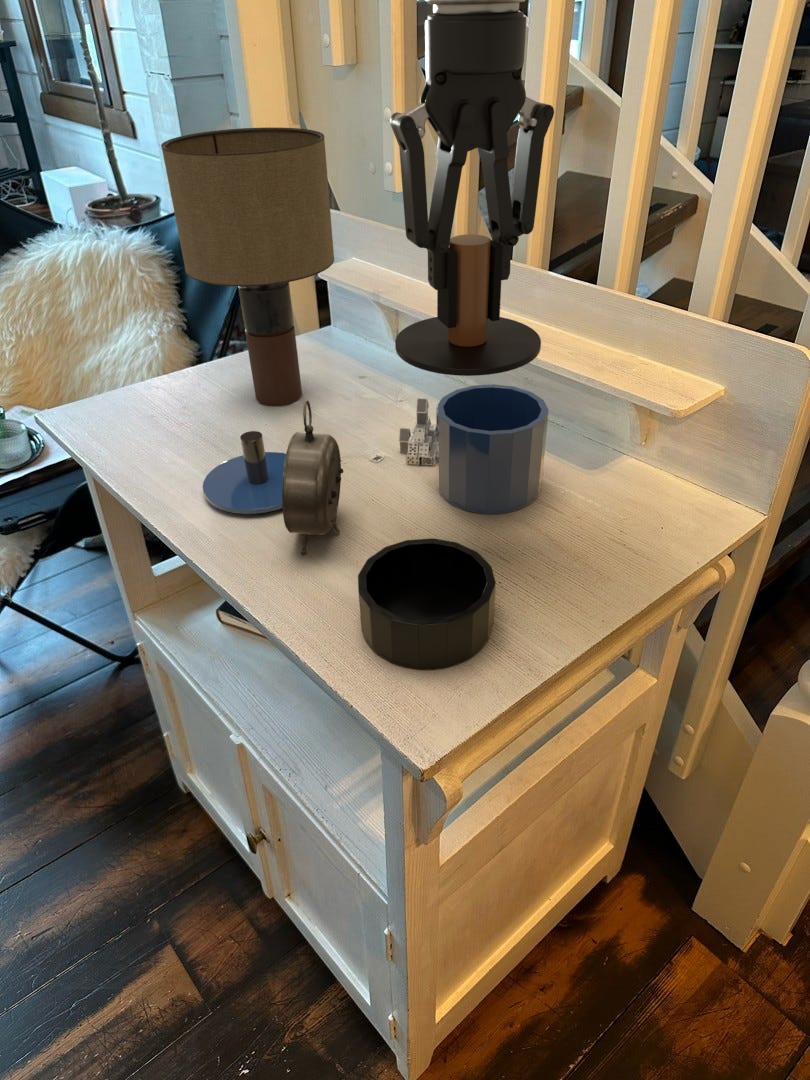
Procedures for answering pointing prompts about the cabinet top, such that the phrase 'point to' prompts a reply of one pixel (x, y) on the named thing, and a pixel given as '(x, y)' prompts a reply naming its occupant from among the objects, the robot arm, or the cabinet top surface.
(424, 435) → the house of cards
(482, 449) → the pot
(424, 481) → the cabinet top surface
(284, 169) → the lamp
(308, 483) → the alarm clock
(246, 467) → the pot lid
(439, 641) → the pan
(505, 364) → the lid
